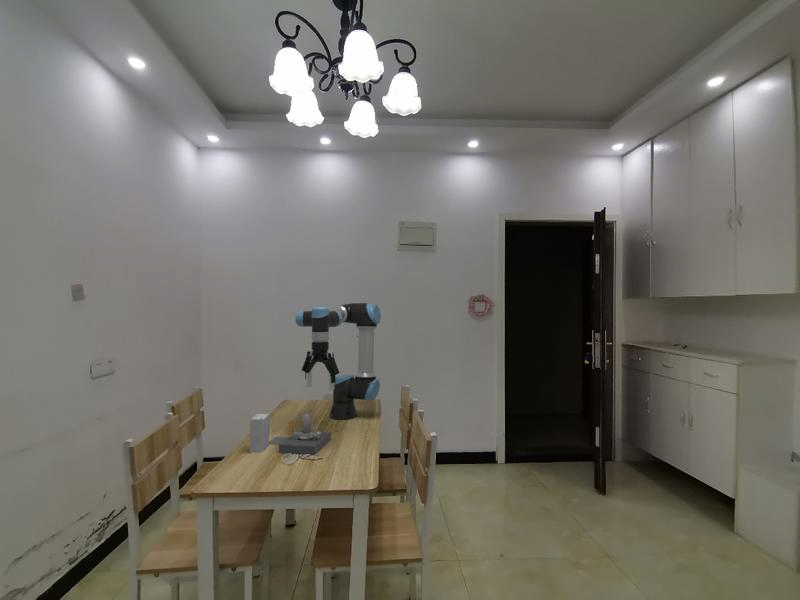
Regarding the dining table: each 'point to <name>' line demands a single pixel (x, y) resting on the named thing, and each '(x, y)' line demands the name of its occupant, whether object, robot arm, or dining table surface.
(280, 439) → the pad
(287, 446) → the socket block
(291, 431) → the clip
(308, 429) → the plug
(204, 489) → the dining table surface
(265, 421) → the skincare box
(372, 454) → the dining table surface
